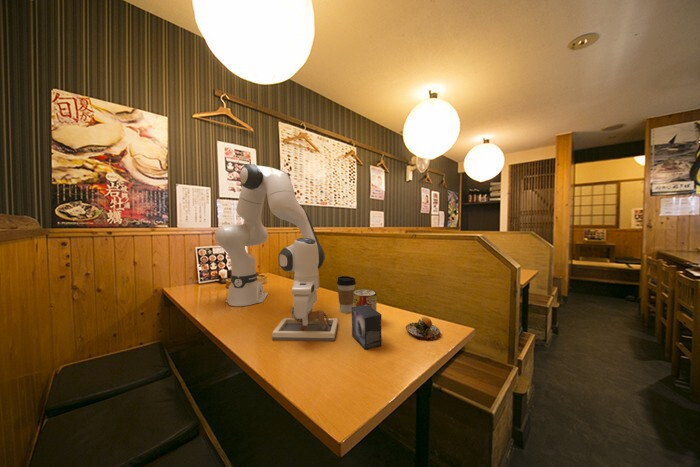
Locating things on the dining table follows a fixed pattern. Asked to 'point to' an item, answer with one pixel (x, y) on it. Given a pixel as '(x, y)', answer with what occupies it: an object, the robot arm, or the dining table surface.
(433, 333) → the plate of food
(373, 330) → the small box
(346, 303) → the coffee cup
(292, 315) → the lion figurine
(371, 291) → the yellow food can
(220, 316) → the dining table surface
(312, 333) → the picture frame
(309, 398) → the dining table surface
